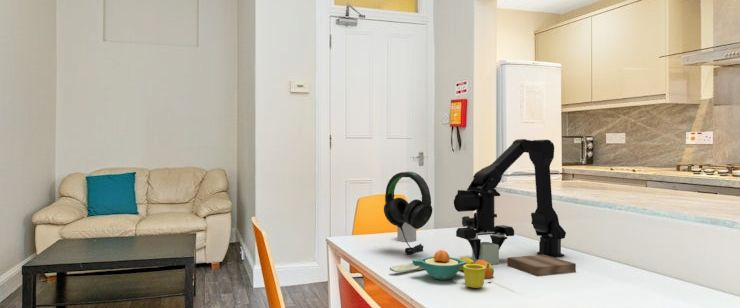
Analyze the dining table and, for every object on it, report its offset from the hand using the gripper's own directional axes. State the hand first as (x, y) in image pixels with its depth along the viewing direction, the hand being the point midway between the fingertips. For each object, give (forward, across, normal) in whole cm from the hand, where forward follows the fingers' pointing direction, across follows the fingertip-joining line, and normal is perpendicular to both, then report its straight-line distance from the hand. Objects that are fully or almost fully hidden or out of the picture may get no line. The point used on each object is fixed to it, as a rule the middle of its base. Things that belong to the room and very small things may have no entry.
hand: (485, 258), depth 154 cm
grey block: (+2, +9, -41) cm, 42 cm away
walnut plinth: (+1, -11, +13) cm, 17 cm away
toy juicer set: (+2, +19, +8) cm, 21 cm away
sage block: (+1, 0, 0) cm, 1 cm away
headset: (+2, +17, -20) cm, 26 cm away
